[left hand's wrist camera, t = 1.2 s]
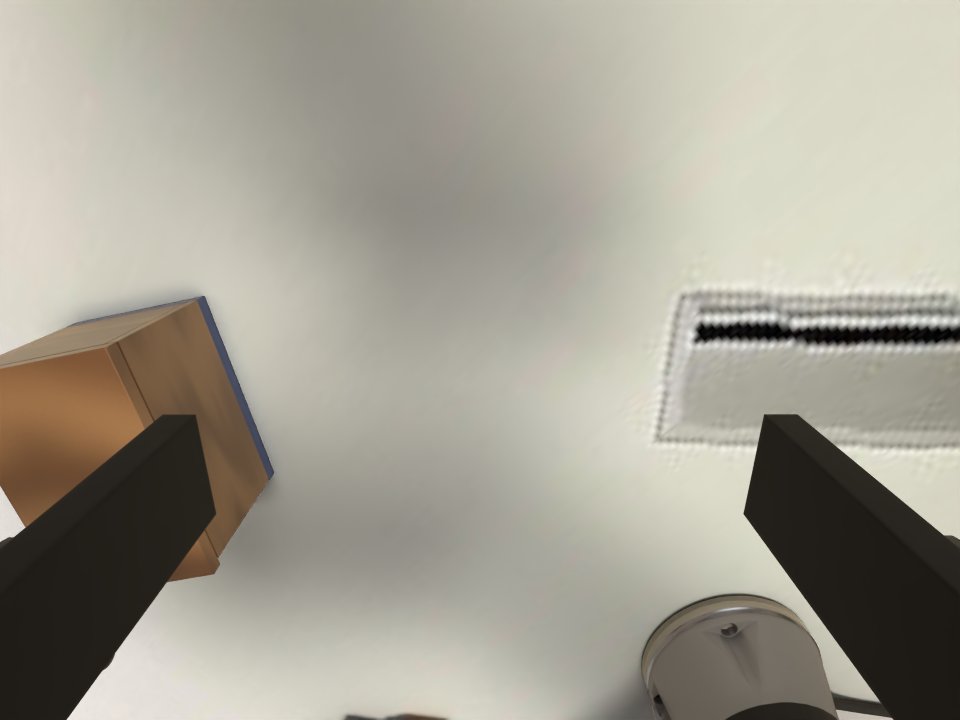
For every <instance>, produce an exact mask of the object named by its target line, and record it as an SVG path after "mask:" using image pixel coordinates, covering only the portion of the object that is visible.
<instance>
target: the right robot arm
mask: <svg viewBox="0 0 960 720" xmlns="http://www.w3.org/2000/svg"><path fill="white" fill-rule="evenodd" d="M642 675H643V679H644V682H645V685H646V689H647V692H648V695H649V698H650V702H651V703H652V704H651V705H653V707H654V708H655V710H656V711H657V712H658V714H659V715H660V717H661V718H662V719H663V720H839V718H838V716H837V713H836V709H837V710H843V711H850V712H856V713H863V714H870V715H876V716H883V717H890V718H892V717H891V716H890V714H889V713H888V712H887V710H886V709H885V707H884V706H883V705H876V704H870V703H863V702H856V701H850V700H844V699H838V698H832V695H831V691H830V688H829V684H828V681H827V677H826V674H825V671H824V668H823V665H822V659H821V655H820V651H819V648H818V646H817V644H816V642H815V641H814V639H813V638H812V636H811V635H810V633H809V632H808V630H807V629H806V627H805V626H804V625H803V623H802V622H801V621H800V619H799V618H798V617H797V616H796V615H795V614H794V613H793V612H791V611H790V610H789V609H787V608H786V607H784V606H782V605H780V604H778V603H776V602H773V601H770V600H767V599H763V598H759V597H753V596H725V597H719V598H714V599H709V600H706V601H703V602H700V603H697V604H694V605H692V606H690V607H688V608H686V609H684V610H682V611H680V612H679V613H677V614H675V615H674V616H672V617H671V618H670V619H668V620H667V621H666V622H665V623H664V624H663V625H662V626H661V627H660V628H659V629H658V630H657V631H656V632H655V633H654V635H653V636H652V638H651V639H650V641H649V642H648V644H647V646H646V649H645V651H644V655H643V659H642ZM653 707H652V709H653ZM653 713H654V710H653ZM654 716H655V714H654ZM655 720H656V718H655Z"/></svg>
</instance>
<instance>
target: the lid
mask: <svg viewBox="0 0 960 720" xmlns="http://www.w3.org/2000/svg"><path fill="white" fill-rule="evenodd" d="M152 423H153V419H152V417H151V415H150V413H149V411H148V409H147V407H146V404H145V402H144V400H143V398H142V396H141V394H140V392H139V389H138V387H137V385H136V383H135V381H134V379H133V377H132V375H131V372H130V370H129V368H128V366H127V364H126V362H125V360H124V357H123V355H122V353H121V351H120V349H119V347H118V345H117V343H116V342H114V343H109V344H104V345H99V346H94V347H89V348H84V349H80V350H75V351H70V352H65V353H60V354H55V355H50V356H45V357H40V358H36V359H31V360H26V361H21V362H16V363H11V364H6V365H1V366H0V486H1V488H2V489H3V491H4V493H5V494H6V496H7V498H8V499H9V501H10V503H11V504H12V506H13V508H14V509H15V511H16V512H17V514H18V516H19V517H20V519H21V521H22V522H23V524H24V526H25V527H27V526H28V525H29V524H31V523H32V522H33V521H34V520H36V519H37V518H38V517H39V516H40V515H42V514H43V513H44V512H45V511H46V510H48V509H49V508H50V507H51V506H52V505H54V504H55V503H56V502H57V501H59V500H60V499H61V498H62V497H63V496H65V495H66V494H67V493H68V492H69V491H71V490H72V489H73V488H74V487H75V486H77V485H78V484H79V483H80V482H82V481H83V480H84V479H85V478H86V477H88V476H89V475H90V474H91V473H92V472H94V471H95V470H96V469H97V468H98V467H100V466H101V465H102V464H103V463H105V462H106V461H107V460H108V459H109V458H111V457H112V456H113V455H114V454H115V453H117V452H118V451H119V450H120V449H121V448H123V447H124V446H125V445H126V444H127V443H129V442H130V441H131V440H132V439H134V438H135V437H136V436H137V435H138V434H140V433H141V432H142V431H143V430H144V429H146V428H147V427H148V426H149V425H150V424H152ZM219 565H220V562H219V560H218V558H217V556H216V554H215V552H214V550H213V547H212V545H211V543H210V541H209V539H208V537H207V535H206V533H205V530H204V532H203V533H202V534H201V536H200V537H199V539H198V540H197V541H196V543H195V544H194V545H193V547H192V548H191V550H190V551H189V552H188V554H187V555H186V556H185V558H184V559H183V561H182V562H181V563H180V565H179V566H178V567H177V569H176V570H175V572H174V573H173V574H172V576H171V577H170V578H169V580H168V581H167V582H171V581H177V580H183V579H188V578H194V577H200V576H206V575H212V574H214V573H215V572H216V570H217V569H218V567H219ZM114 655H115V654H114ZM114 655H113V657H112V658H111V659H110V661H109V662H108V663H107V665H106V666H105V668H104V669H106V668H107V667H108V666H109V665H110V663H111V662H112V660H113V658H114ZM104 669H103V670H104ZM103 670H102V671H103Z"/></svg>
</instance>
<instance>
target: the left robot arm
mask: <svg viewBox="0 0 960 720" xmlns="http://www.w3.org/2000/svg"><path fill="white" fill-rule="evenodd" d="M215 515H216V509H215V505H214V500H213V495H212V490H211V485H210V481H209V476H208V471H207V466H206V461H205V456H204V452H203V447H202V442H201V437H200V432H199V428H198V423H197V418H196V414H163V415H161V416H160V417H159V418H158V419H157V420H155V421H154V422H153V423H152V424H150V425H149V426H148V427H147V428H146V429H144V430H143V431H142V432H141V433H140V434H138V435H137V436H136V437H135V438H134V439H132V440H131V441H130V442H129V443H127V444H126V445H125V446H124V447H123V448H121V449H120V450H119V451H118V452H117V453H115V454H114V455H113V456H112V457H111V458H109V459H108V460H107V461H106V462H105V463H103V464H102V465H101V466H100V467H98V468H97V469H96V470H95V471H94V472H92V473H91V474H90V475H89V476H88V477H86V478H85V479H84V480H83V481H82V482H80V483H79V484H78V485H77V486H75V487H74V488H73V489H72V490H71V491H69V492H68V493H67V494H66V495H65V496H63V497H62V498H61V499H60V500H59V501H57V502H56V503H55V504H54V505H52V506H51V507H50V508H49V509H48V510H46V511H45V512H44V513H43V514H42V515H40V516H39V517H38V518H37V519H36V520H34V521H33V522H32V523H31V524H29V525H28V526H27V527H26V528H25V529H23V530H22V531H21V532H20V533H19V534H17V535H16V536H15V537H9V538H7V539H5V540H3V541H1V542H0V720H67V718H68V717H69V716H70V714H71V713H72V712H73V710H74V709H75V707H76V706H77V705H78V703H79V702H80V701H81V699H82V698H83V696H84V695H85V694H86V692H87V691H88V690H89V688H90V687H91V685H92V684H93V683H94V681H95V680H96V679H97V677H98V676H99V674H100V673H101V672H102V670H103V669H104V668H105V666H106V665H107V663H108V662H109V661H110V659H111V658H112V657H113V655H114V654H115V653H116V651H117V650H118V648H119V647H120V646H121V644H122V643H123V642H124V640H125V639H126V637H127V636H128V635H129V633H130V632H131V631H132V629H133V628H134V626H135V625H136V624H137V622H138V621H139V620H140V618H141V617H142V615H143V614H144V613H145V611H146V610H147V609H148V607H149V606H150V604H151V603H152V602H153V600H154V599H155V598H156V596H157V595H158V593H159V592H160V591H161V589H162V588H163V587H164V585H165V584H166V582H167V581H168V580H169V578H170V577H171V576H172V574H173V573H174V572H175V570H176V569H177V567H178V566H179V565H180V563H181V562H182V561H183V559H184V558H185V556H186V555H187V554H188V552H189V551H190V550H191V548H192V547H193V545H194V544H195V543H196V541H197V540H198V539H199V537H200V536H201V534H202V533H203V532H204V530H205V529H206V528H207V526H208V525H209V523H210V522H211V521H212V519H213V518H214V517H215ZM744 515H745V517H746V518H747V519H748V521H749V522H750V523H751V525H752V526H753V528H754V529H755V530H756V532H757V533H758V534H759V536H760V537H761V539H762V540H763V541H764V543H765V544H766V545H767V547H768V548H769V550H770V551H771V552H772V554H773V555H774V556H775V558H776V559H777V561H778V562H779V563H780V565H781V566H782V567H783V569H784V570H785V572H786V573H787V574H788V576H789V577H790V578H791V580H792V581H793V583H794V584H795V585H796V587H797V588H798V589H799V591H800V592H801V593H802V595H803V596H804V598H805V599H806V600H807V602H808V603H809V604H810V606H811V607H812V609H813V610H814V611H815V613H816V614H817V615H818V617H819V618H820V620H821V621H822V622H823V624H824V625H825V626H826V628H827V629H828V631H829V632H830V633H831V635H832V636H833V637H834V639H835V640H836V642H837V643H838V644H839V646H840V647H841V648H842V650H843V651H844V653H845V654H846V655H847V657H848V658H849V659H850V661H851V662H852V663H853V665H854V666H855V668H856V669H857V670H858V672H859V673H860V674H861V676H862V677H863V679H864V680H865V681H866V683H867V684H868V685H869V687H870V688H871V690H872V691H873V692H874V694H875V695H876V696H877V698H878V699H879V701H880V702H881V703H882V705H883V706H884V707H885V709H886V710H887V712H888V713H889V714H890V716H891V717H892V718H893V720H960V540H959V539H957V538H956V537H954V536H944V535H943V534H941V533H940V532H939V531H938V530H937V529H935V528H934V527H933V526H932V525H931V524H929V523H928V522H927V521H926V520H924V519H923V518H922V517H921V516H920V515H918V514H917V513H916V512H915V511H914V510H912V509H911V508H910V507H909V506H908V505H906V504H905V503H904V502H903V501H901V500H900V499H899V498H898V497H897V496H895V495H894V494H893V493H892V492H891V491H889V490H888V489H887V488H886V487H885V486H883V485H882V484H881V483H880V482H878V481H877V480H876V479H875V478H874V477H872V476H871V475H870V474H869V473H868V472H866V471H865V470H864V469H863V468H862V467H860V466H859V465H858V464H857V463H855V462H854V461H853V460H852V459H851V458H849V457H848V456H847V455H846V454H845V453H843V452H842V451H841V450H840V449H839V448H837V447H836V446H835V445H834V444H833V443H831V442H830V441H829V440H828V439H826V438H825V437H824V436H823V435H822V434H820V433H819V432H818V431H817V430H816V429H814V428H813V427H812V426H811V425H810V424H808V423H807V422H806V421H805V420H803V419H802V418H801V417H800V416H799V415H797V414H764V418H763V423H762V428H761V432H760V437H759V442H758V447H757V452H756V456H755V461H754V466H753V471H752V476H751V481H750V485H749V490H748V495H747V500H746V505H745V509H744Z"/></svg>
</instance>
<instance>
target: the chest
mask: <svg viewBox="0 0 960 720" xmlns="http://www.w3.org/2000/svg"><path fill="white" fill-rule="evenodd" d="M114 342H116V343H117V345H118V347H119V349H120V351H121V353H122V355H123V357H124V360H125V362H126V364H127V366H128V368H129V370H130V372H131V375H132V377H133V379H134V381H135V383H136V385H137V387H138V389H139V392H140V394H141V396H142V398H143V400H144V402H145V404H146V407H147V409H148V411H149V413H150V415H151V417H152V419H153V422H154V421H155V420H157V419H158V418H159V417H160V416H161V415H163V414H196V418H197V423H198V428H199V432H200V437H201V442H202V447H203V452H204V456H205V461H206V466H207V471H208V476H209V481H210V485H211V490H212V495H213V500H214V505H215V509H216V515H215V517H214V518H213V519H212V521H211V522H210V523H209V525H208V526H207V528H206V529H205V533H206V535H207V537H208V539H209V541H210V543H211V545H212V547H213V550H214V552H215V554H216V556H217V558H218V557H219V556H220V554H221V553H222V551H223V550H224V548H225V547H226V545H227V544H228V542H229V540H230V539H231V537H232V536H233V534H234V533H235V531H236V530H237V528H238V527H239V525H240V523H241V522H242V520H243V519H244V517H245V516H246V514H247V513H248V511H249V509H250V508H251V506H252V505H253V503H254V502H255V500H256V499H257V497H258V496H259V494H260V492H261V491H262V489H263V488H264V486H265V485H266V483H267V482H268V480H270V478H271V477H272V475H273V473H274V471H273V469H272V466H271V464H270V461H269V459H268V456H267V454H266V451H265V449H264V446H263V443H262V441H261V438H260V436H259V433H258V431H257V428H256V426H255V423H254V421H253V418H252V416H251V413H250V411H249V408H248V406H247V403H246V400H245V398H244V395H243V393H242V390H241V388H240V385H239V383H238V380H237V378H236V375H235V373H234V370H233V368H232V365H231V362H230V360H229V357H228V355H227V352H226V350H225V347H224V345H223V342H222V340H221V337H220V335H219V332H218V330H217V327H216V325H215V322H214V319H213V317H212V314H211V312H210V309H209V307H208V304H207V302H206V299H205V297H204V296H202V297H198V298H193V299H188V300H183V301H179V302H174V303H169V304H164V305H159V306H155V307H150V308H145V309H140V310H135V311H131V312H126V313H121V314H116V315H111V316H107V317H102V318H97V319H92V320H87V321H83V322H78V323H75V324H73V325H70V326H68V327H66V328H64V329H61V330H59V331H57V332H54V333H52V334H50V335H47V336H45V337H42V338H40V339H38V340H35V341H33V342H31V343H28V344H26V345H23V346H21V347H19V348H16V349H14V350H11V351H9V352H7V353H4V354H2V355H0V366H1V365H6V364H11V363H16V362H21V361H26V360H31V359H36V358H40V357H45V356H50V355H55V354H60V353H65V352H70V351H75V350H80V349H84V348H89V347H94V346H99V345H104V344H109V343H114Z"/></svg>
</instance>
